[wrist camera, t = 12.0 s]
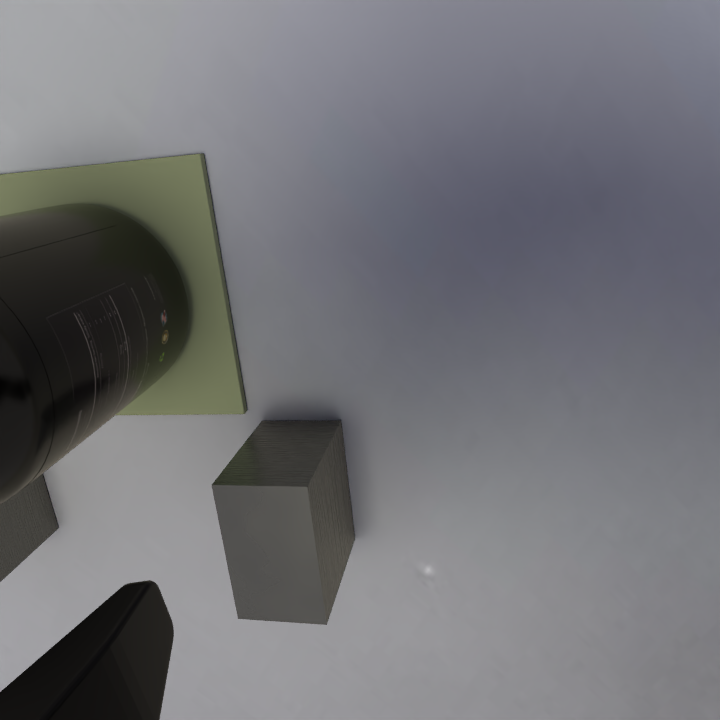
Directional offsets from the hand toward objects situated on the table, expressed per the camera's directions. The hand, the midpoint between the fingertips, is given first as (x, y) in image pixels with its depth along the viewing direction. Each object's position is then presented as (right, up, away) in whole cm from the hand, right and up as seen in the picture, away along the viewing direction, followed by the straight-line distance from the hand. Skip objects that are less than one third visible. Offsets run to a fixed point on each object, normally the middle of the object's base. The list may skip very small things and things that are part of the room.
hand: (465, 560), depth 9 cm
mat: (-10, +5, +14) cm, 18 cm away
